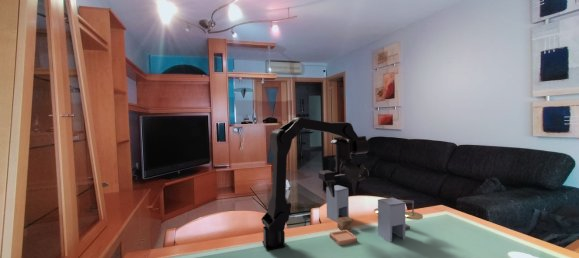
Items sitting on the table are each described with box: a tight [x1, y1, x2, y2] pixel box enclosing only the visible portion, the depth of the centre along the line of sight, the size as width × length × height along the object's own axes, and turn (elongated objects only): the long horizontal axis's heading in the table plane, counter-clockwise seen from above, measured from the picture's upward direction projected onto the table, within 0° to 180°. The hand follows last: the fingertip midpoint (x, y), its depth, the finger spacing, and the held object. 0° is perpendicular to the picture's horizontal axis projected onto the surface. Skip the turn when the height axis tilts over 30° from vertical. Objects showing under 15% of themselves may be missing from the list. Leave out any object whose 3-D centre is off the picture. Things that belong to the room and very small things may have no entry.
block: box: [337, 216, 353, 232], centre depth 105 cm, size 4×4×4 cm
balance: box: [373, 199, 424, 231], centre depth 107 cm, size 6×24×13 cm, turn 19°
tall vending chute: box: [325, 184, 350, 223], centre depth 117 cm, size 6×6×13 cm
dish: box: [329, 230, 358, 246], centre depth 97 cm, size 7×7×2 cm
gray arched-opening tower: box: [377, 197, 406, 243], centre depth 98 cm, size 6×6×13 cm
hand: (344, 195), depth 105 cm, fingers open, 9 cm apart
